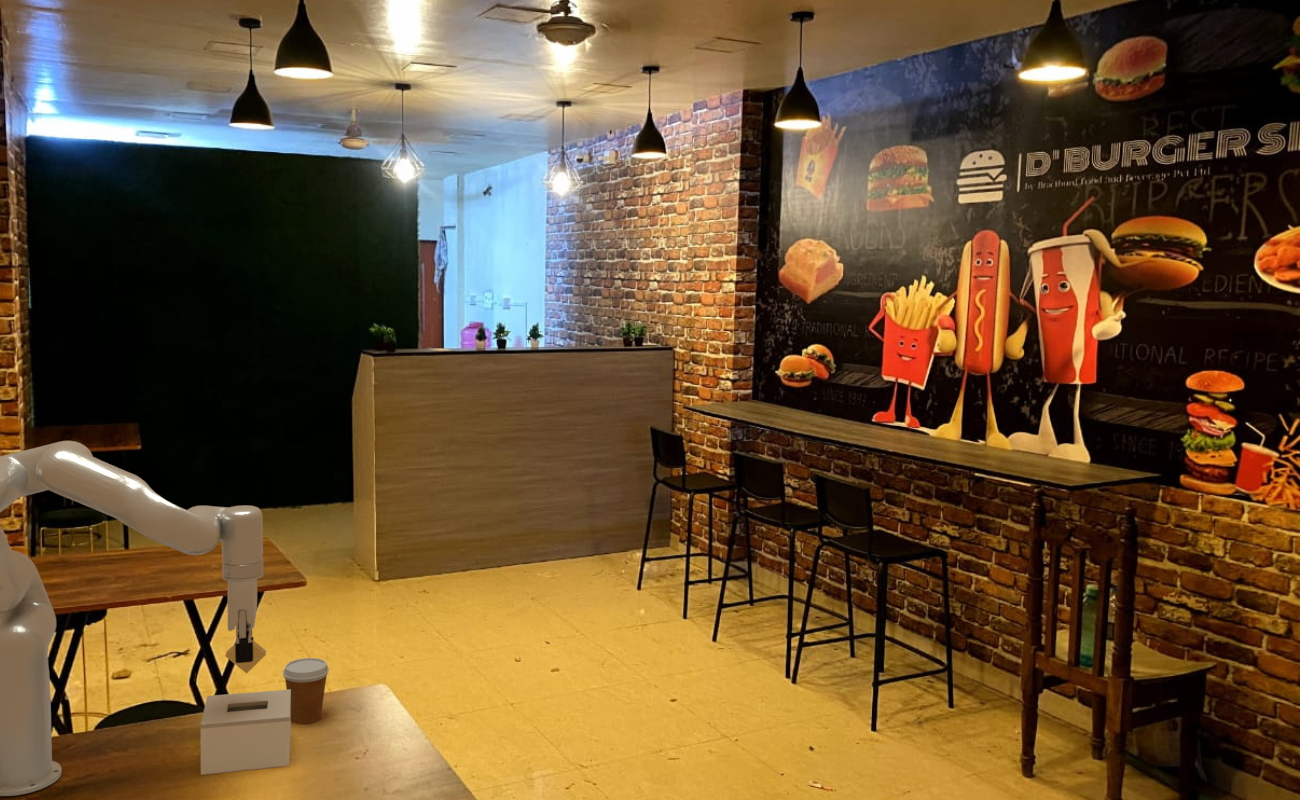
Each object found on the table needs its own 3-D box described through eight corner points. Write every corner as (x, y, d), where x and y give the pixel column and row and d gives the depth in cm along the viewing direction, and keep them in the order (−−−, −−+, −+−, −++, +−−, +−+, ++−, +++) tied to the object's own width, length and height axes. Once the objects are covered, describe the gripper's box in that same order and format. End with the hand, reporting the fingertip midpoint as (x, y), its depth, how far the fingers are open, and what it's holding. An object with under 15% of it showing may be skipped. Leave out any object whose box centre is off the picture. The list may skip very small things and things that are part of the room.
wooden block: (246, 673, 202) (225, 656, 200) (247, 669, 204) (226, 651, 202) (265, 655, 203) (244, 637, 201) (266, 650, 205) (245, 633, 203)
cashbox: (200, 774, 196) (200, 724, 194) (207, 742, 209) (207, 695, 208) (289, 765, 201) (289, 717, 199) (290, 735, 214) (290, 689, 213)
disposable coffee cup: (314, 730, 217) (314, 675, 215) (273, 724, 219) (273, 670, 217) (336, 712, 226) (337, 660, 225) (297, 707, 228) (297, 655, 226)
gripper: (225, 559, 207) (227, 647, 209) (219, 582, 192) (221, 676, 194) (264, 557, 209) (266, 644, 211) (262, 579, 194) (263, 672, 196)
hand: (244, 658), depth 203 cm, fingers closed on wooden block, 2 cm apart
